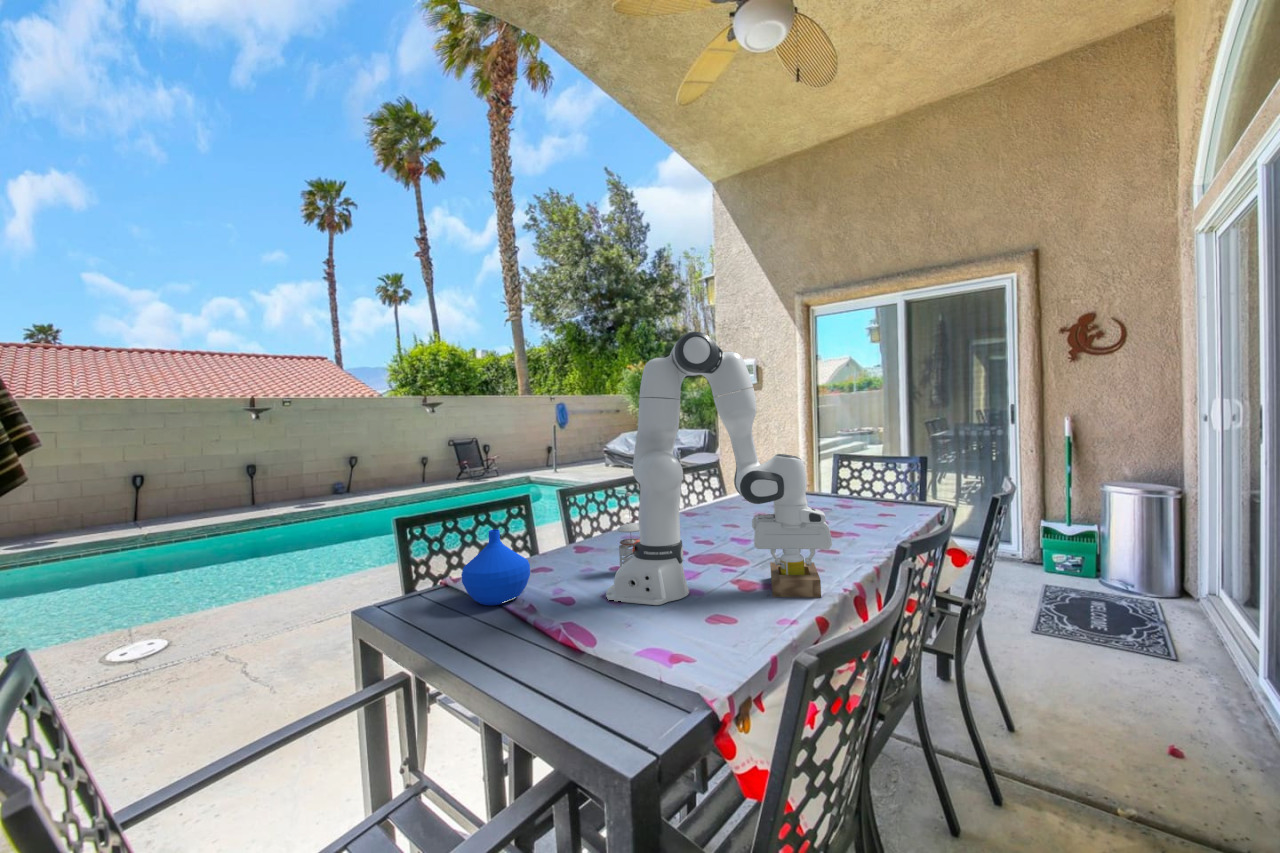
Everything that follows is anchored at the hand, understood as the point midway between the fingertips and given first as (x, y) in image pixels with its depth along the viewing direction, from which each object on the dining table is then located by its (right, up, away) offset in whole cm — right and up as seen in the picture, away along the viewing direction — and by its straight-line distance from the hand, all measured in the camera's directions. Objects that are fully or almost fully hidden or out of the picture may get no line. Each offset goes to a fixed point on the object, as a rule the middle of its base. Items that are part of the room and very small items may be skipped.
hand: (793, 564), depth 148 cm
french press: (-43, -8, +23) cm, 49 cm away
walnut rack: (0, -6, 0) cm, 6 cm away
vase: (-81, -11, +3) cm, 81 cm away
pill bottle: (0, -6, 0) cm, 6 cm away
